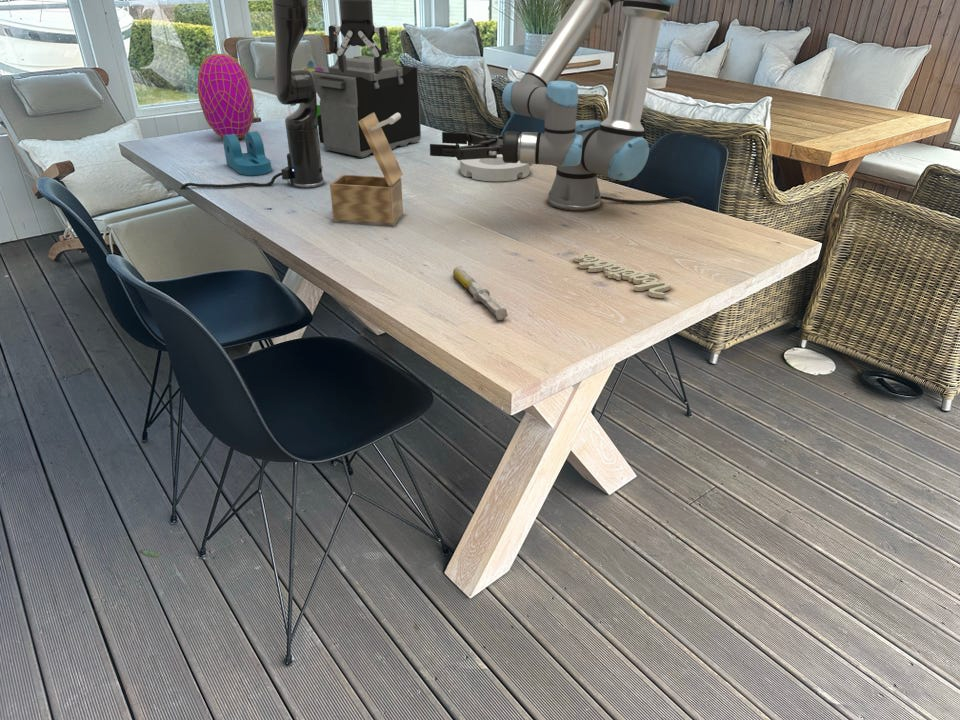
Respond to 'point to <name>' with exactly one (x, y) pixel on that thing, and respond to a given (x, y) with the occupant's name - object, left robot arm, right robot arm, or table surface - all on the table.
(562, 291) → the table surface
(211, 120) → the decorative egg
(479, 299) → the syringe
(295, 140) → the left robot arm
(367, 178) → the chest
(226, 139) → the camera mount
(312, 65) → the potted flower
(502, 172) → the ashtray
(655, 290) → the decorative sign
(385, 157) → the lid
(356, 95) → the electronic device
